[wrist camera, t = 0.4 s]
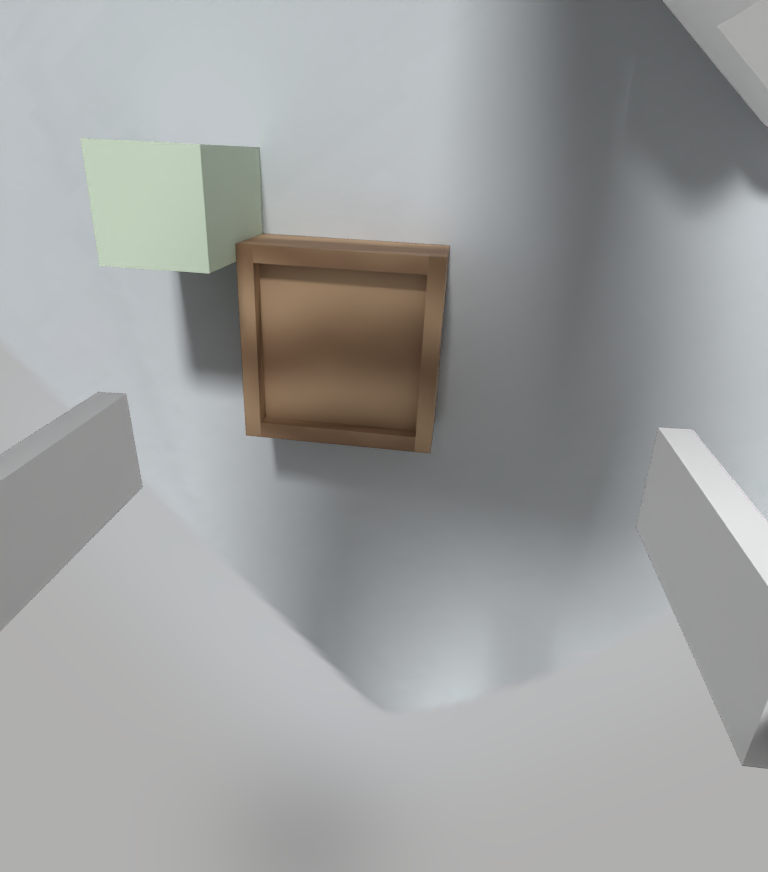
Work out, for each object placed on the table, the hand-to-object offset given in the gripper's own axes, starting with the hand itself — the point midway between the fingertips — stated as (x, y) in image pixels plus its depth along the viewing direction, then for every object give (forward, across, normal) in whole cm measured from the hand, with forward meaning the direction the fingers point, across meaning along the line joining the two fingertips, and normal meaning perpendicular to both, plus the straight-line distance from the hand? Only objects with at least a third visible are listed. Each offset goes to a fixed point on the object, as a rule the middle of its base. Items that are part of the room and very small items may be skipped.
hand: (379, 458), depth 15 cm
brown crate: (+26, -5, -4) cm, 27 cm away
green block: (+26, -14, +4) cm, 30 cm away
